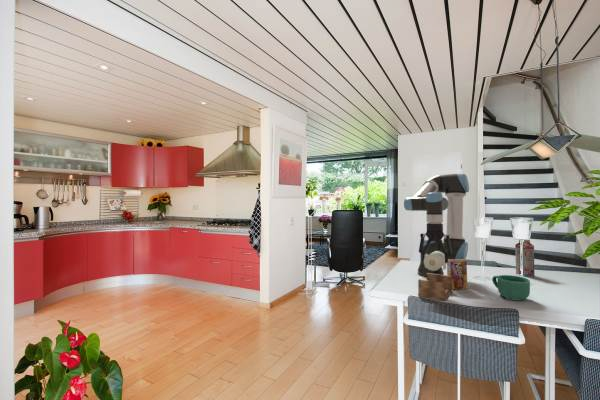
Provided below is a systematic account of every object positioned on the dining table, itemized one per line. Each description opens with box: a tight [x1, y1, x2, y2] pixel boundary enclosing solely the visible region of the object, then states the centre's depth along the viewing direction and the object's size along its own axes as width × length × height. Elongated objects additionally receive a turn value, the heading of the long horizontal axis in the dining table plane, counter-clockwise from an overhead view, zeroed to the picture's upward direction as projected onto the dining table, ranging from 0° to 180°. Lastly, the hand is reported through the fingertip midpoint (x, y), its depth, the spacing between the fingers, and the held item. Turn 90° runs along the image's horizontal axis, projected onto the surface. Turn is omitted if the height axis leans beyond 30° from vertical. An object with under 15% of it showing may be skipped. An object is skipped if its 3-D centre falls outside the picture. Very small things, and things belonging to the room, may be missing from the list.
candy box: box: [446, 259, 468, 290], centre depth 157 cm, size 9×4×15 cm, turn 89°
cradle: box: [417, 273, 453, 302], centre depth 148 cm, size 12×18×8 cm, turn 143°
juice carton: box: [514, 239, 535, 277], centre depth 184 cm, size 7×7×22 cm
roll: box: [424, 251, 445, 271], centre depth 148 cm, size 12×8×8 cm, turn 142°
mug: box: [491, 274, 531, 301], centre depth 142 cm, size 17×13×10 cm
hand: (435, 267), depth 148 cm, fingers closed on roll, 8 cm apart
